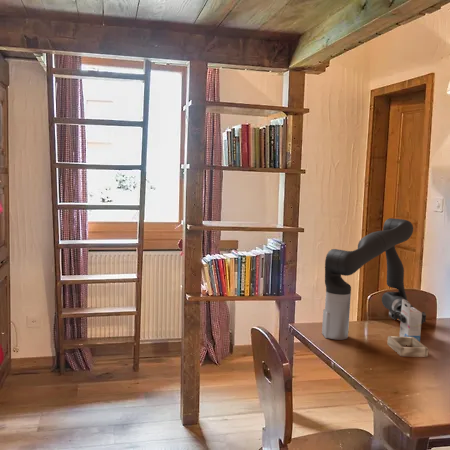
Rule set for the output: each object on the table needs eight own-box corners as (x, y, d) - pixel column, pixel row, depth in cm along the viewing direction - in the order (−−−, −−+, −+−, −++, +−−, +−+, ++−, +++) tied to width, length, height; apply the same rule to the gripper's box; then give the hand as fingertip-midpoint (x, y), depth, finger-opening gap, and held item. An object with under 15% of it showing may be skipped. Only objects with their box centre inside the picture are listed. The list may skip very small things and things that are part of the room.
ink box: (420, 343, 188) (423, 304, 187) (407, 343, 188) (410, 304, 186) (411, 336, 196) (414, 299, 195) (398, 336, 196) (401, 298, 195)
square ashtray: (400, 356, 174) (401, 347, 173) (387, 344, 186) (387, 336, 186) (427, 356, 174) (428, 348, 174) (412, 344, 186) (413, 336, 186)
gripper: (385, 299, 206) (393, 309, 189) (421, 301, 204) (433, 312, 188) (384, 317, 207) (392, 329, 190) (420, 319, 205) (432, 332, 188)
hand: (412, 321), depth 189 cm, fingers closed on ink box, 5 cm apart
